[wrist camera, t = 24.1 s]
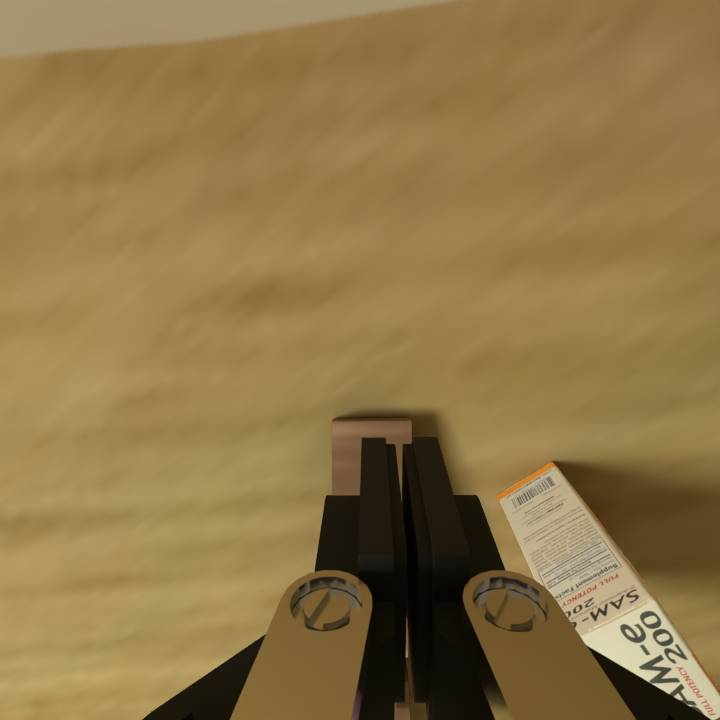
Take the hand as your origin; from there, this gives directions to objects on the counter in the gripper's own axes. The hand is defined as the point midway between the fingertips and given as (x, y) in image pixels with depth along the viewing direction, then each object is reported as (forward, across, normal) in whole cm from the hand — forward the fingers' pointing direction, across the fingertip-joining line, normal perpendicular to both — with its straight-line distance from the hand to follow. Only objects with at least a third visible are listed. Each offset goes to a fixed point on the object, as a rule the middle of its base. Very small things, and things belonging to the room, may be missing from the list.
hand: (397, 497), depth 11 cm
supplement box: (+22, -12, +15) cm, 29 cm away
